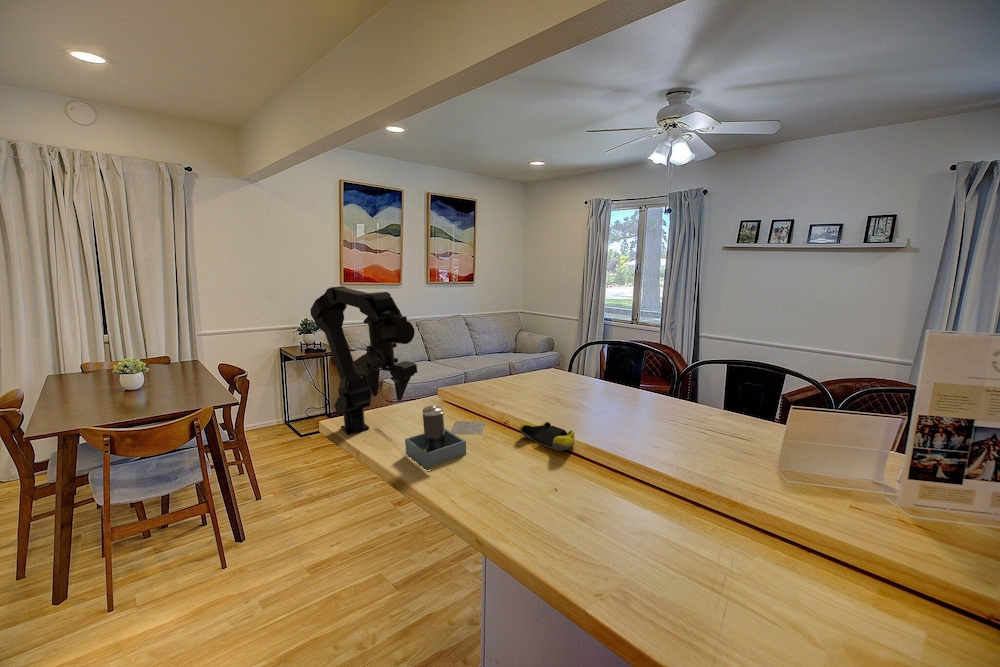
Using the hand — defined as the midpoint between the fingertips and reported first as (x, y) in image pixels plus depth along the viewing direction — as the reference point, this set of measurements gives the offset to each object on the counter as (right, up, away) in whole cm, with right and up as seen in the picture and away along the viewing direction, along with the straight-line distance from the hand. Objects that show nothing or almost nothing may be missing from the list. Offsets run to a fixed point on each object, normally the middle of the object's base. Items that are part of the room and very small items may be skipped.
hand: (387, 398), depth 117 cm
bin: (+14, -14, -6) cm, 20 cm away
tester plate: (+21, -11, +10) cm, 25 cm away
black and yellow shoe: (+43, -13, -1) cm, 45 cm away
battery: (+14, -13, -6) cm, 20 cm away
